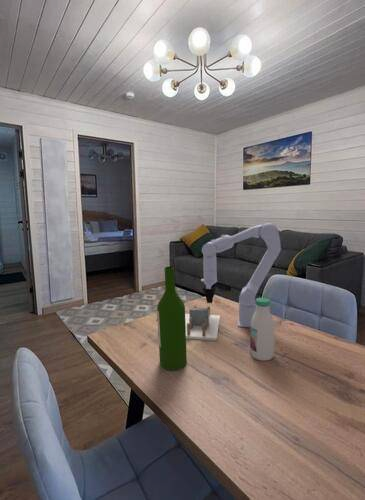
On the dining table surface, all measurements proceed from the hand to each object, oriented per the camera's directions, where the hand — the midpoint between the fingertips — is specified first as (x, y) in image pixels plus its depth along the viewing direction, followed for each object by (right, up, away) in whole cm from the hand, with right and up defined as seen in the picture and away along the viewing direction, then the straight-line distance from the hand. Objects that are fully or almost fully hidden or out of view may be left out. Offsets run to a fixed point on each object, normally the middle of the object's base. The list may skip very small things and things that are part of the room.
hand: (210, 299), depth 120 cm
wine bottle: (-15, -16, -30) cm, 37 cm away
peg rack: (-5, -11, -5) cm, 13 cm away
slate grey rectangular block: (-5, -10, -5) cm, 12 cm away
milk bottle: (+15, -14, -27) cm, 34 cm away
